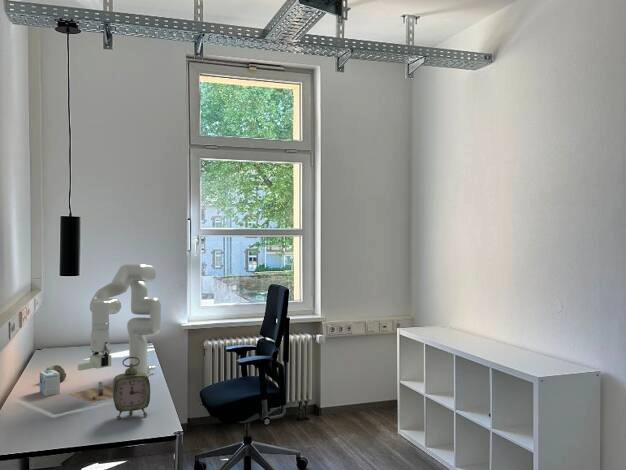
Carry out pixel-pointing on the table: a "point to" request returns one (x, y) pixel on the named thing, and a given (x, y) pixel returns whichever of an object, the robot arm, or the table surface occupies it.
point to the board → (88, 394)
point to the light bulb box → (49, 382)
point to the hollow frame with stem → (94, 362)
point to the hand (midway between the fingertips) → (100, 364)
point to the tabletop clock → (131, 390)
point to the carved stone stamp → (58, 369)
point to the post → (100, 388)
